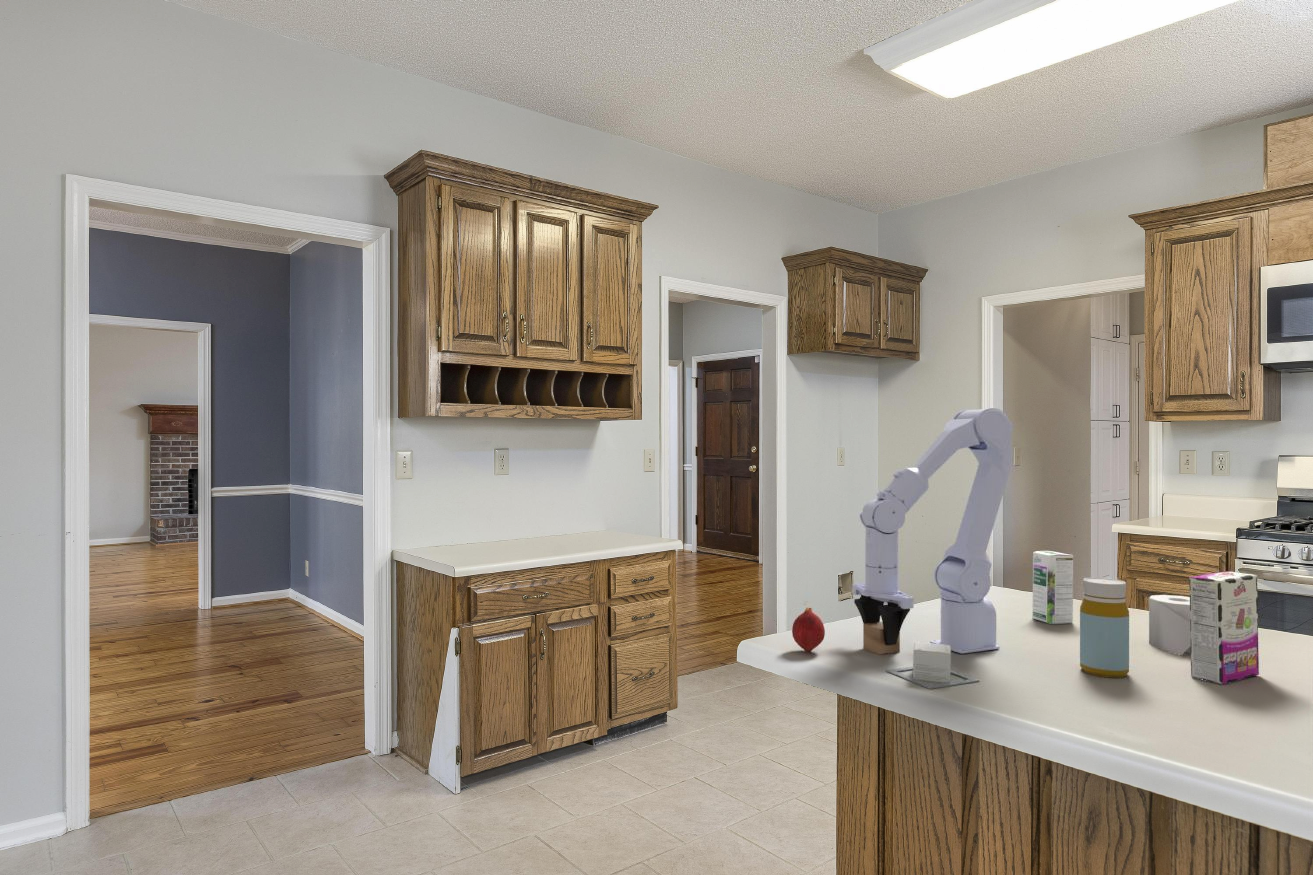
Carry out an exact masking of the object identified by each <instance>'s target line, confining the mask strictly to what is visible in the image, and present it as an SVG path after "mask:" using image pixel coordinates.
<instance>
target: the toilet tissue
mask: <svg viewBox="0 0 1313 875" xmlns="http://www.w3.org/2000/svg"><path fill="white" fill-rule="evenodd" d="M1190 630H1191V629H1190V596H1185V595H1171V594H1170V595H1169V594H1155V595H1150V596H1149V598H1148V637H1149V638H1148V644H1150V645H1151V646H1154V647H1156V648H1158V649H1161V650H1163V651H1164V652H1167V651H1168V652H1167V653H1170V652H1171V654H1174V653H1176V654H1175V655H1178V654H1180V655H1179V656H1182V655H1183V654H1184V653H1191V637H1190Z"/></svg>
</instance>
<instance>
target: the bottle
mask: <svg viewBox="0 0 1313 875" xmlns="http://www.w3.org/2000/svg"><path fill="white" fill-rule="evenodd" d="M1082 592H1083V593H1082V597H1083V599H1082V601H1081V604H1080V607H1079V666H1080V668H1081V669H1082V670H1083V671H1084V672H1085V673H1087V674H1089V675H1092V676H1097V677H1102V678H1108V679H1109V678H1111V679H1113V678H1114V679H1118V678H1120V679H1121V678H1124V677H1126V676H1127V675H1128V674H1129V673H1130V611H1129V608H1128V605H1127V603H1126V602H1127V598H1126V597H1127V583H1126V581H1124V580H1120V579H1114V578H1107V577H1084V578H1083V580H1082Z"/></svg>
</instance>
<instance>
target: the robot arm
mask: <svg viewBox="0 0 1313 875" xmlns="http://www.w3.org/2000/svg"><path fill="white" fill-rule="evenodd" d="M1013 430H1014V425H1013V424H1012V422H1011V420H1010V419H1009V417H1008V416H1007V415H1006V413H1005V412H1004V411H1003V410H1001V409H1000V408H998V407H987V408H983V409H982V408H981V409H968V408H967V409H962V410H960V411H958V412H957V413H956V414H955V415H954V416H953V419H950V420H949V421H947V423H945V426H944V428H943V430H942V431H941V433H940V434H939V435H938V436H937V437H936V438H935V440H934V441H933V442H932V444H931V445H930V446H929V447H928V448H927V450H926V451H925V452H924V453H923V455H921V457H920V458H919V459H918V461H917V462H916V463H915V464H914V466H913V467H904V468H902V469H901V470H896V471H895V472H894V473H893V475H892V476H893V479H892V480H891V481H890V482H889V483H888V485H886V487H884V489H883V490H879V491H878V492H877V493H876V496H877V498H874V499H871V500H869V501H867V502H866V503H865V505H864V506H863V508H862V512H860V513H859V519H860V522H861V524H862V525H863V526H864V529H865V540H864V542H865V544H864V546H865V547H864V548H865V549H864V550H865V558H864V559H865V562H864V563H865V566H864V567H865V570H864V571H865V574H864V575H865V576H864V577H865V578H864V579H865V580H864V582H865V583H861V582H859V583H852V585H851V587H852V588H851V590H852V591H851V594H852V595H855V596H857V595H858V596H860V597H859V598H855V599H854V600H853V603H854V605H855V607H856V608H857V610H858V613H859V615H860V617H861V621H862V624H865V623H874V622H882V623H883V633H884V642H885V645H896V644H897V640H898V636H899V632H900V633H901V628H902V627H903V624H904V621H905V619H906V617H907V616H908V615H909V613H910V611H911V609H914V605H915V604H914V596H911V595H907V594H906V593H905V592H903V591H900V590H899V529H901V528H903V526H904V525H905V520H906V514H907V513H908V512H909V511H910V510H911V508H913V507H914V505H916V503H917V502H918V501H919V500H920V499H921V498H922V497H923V495H925V493H926V492H927V491H928V490H929V479H930V478H932V476H933V475H934V474H935V473H936V472H937V471H938V470H939V469H940V468H941V467H942V466H943V465H944V464H945V463H946V462H947V461H948V460H949V459H951V457H952V456H953V455H954V454H955V453H957V452H958V450H961V449H966V448H967V449H968V450H969V451H970V452H972V454H973V455H974V457H975V458H976V461H977V462H978V466H977V469H976V472H975V476H974V479H973V483H972V486H971V489H970V493H969V496H968V500H967V502H966V506H965V509H964V513H963V515H962V518H961V522H960V526H959V528H958V532H957V535H956V538H955V542H954V543H953V544H952V545H951V546H949V547H948V548H947V549H946V550H945V551H944V555H943V558H942V559H941V561H940V562H938V564H937V565H936V566H935V568H934V571H933V573H934V574H933V579H934V583H935V585H936V586H937V587H938V588H939V589H940V639H935V640H930V642H929V643H934V644H945V645H950V647H951V652H955V653H958V654H969V653H976V652H984V651H991V650H998V649H1001V646H1000V645H998V644H997V611H996V607H995V606H994V604H993V603H992V601H990V599H988V598H987V597H986V596H987V595H988V593H989V592H990V590H991V584H992V583H991V582H992V581H991V576H990V574H991V573H990V572H991V568H992V562H991V560H990V558H989V556H988V553H987V550H988V545H989V543H990V539H991V536H992V532H993V529H994V526H995V522H996V519H997V516H998V513H999V510H1000V506H1001V502H1002V499H1003V495H1004V492H1005V489H1006V485H1007V482H1008V479H1009V475H1010V472H1011V469H1012V466H1013V461H1014V454H1013V448H1012V446H1013V445H1012V439H1011V436H1012V432H1013Z"/></svg>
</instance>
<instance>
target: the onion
mask: <svg viewBox="0 0 1313 875" xmlns="http://www.w3.org/2000/svg"><path fill="white" fill-rule="evenodd" d="M825 632H826V630H825V626H824V623H823V621H822V620H821V618H820V617H819V616H818V615H817V614H816V613H814V612H813V608H812V607H811V606H807V607H806V608H805V610H804V611H803V612H802V613H801V614H799V615H798V616H797V617H796V618H795V619H794V621H793V623H792V628H791V634H792V638H793V639H794V642H795V643H796V644H797V646H799V648H801V649H802V650H804V651H805V652H807V653H809V652H812V651H813V650H814V649H816V648H817V647H818V646H820V644H822V642H823V641H824V639H825V635H826V633H825Z"/></svg>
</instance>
